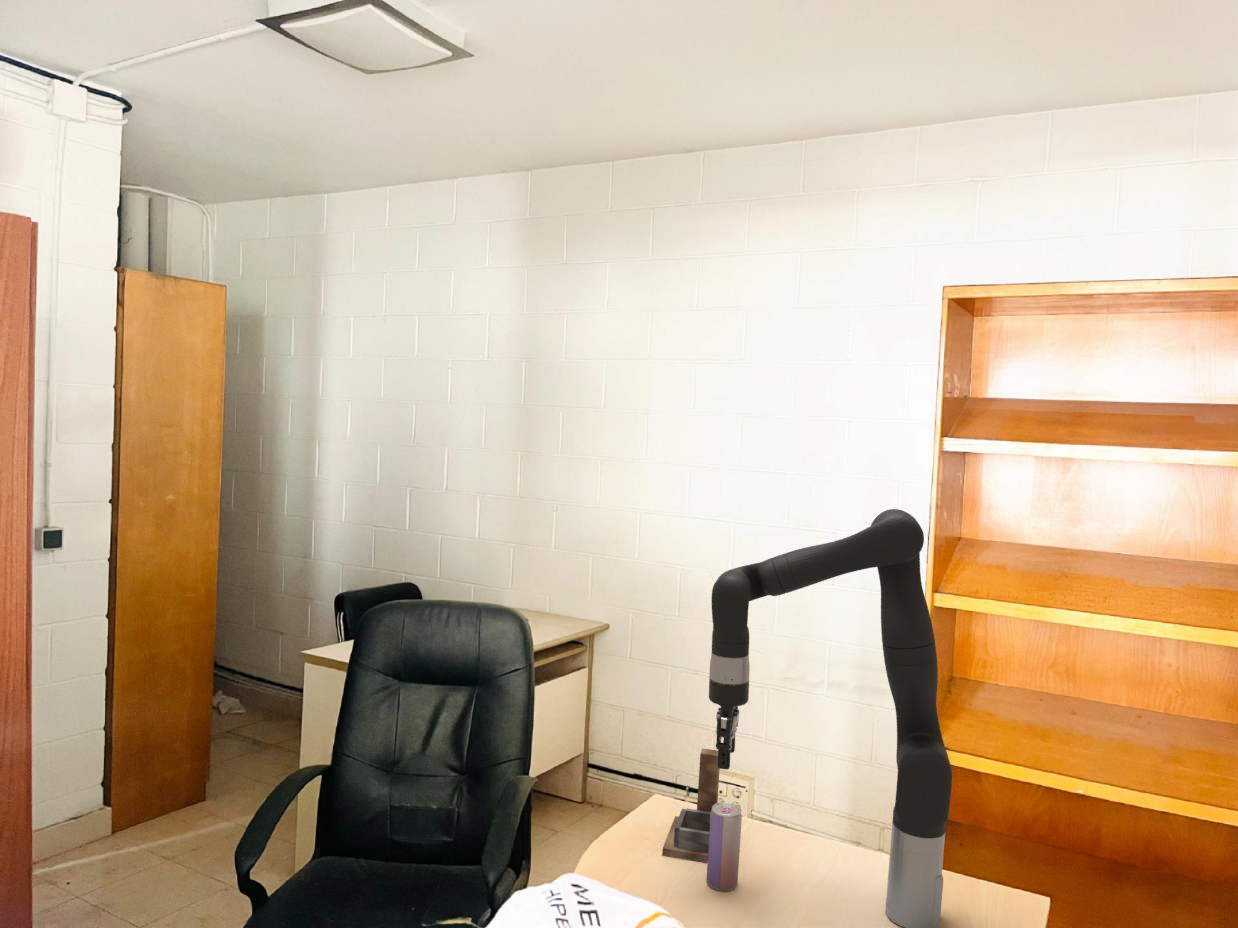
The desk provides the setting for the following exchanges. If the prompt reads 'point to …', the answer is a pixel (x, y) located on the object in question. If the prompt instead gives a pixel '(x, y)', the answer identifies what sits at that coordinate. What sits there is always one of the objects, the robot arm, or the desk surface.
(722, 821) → the beverage can
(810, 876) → the desk surface
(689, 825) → the post holder
